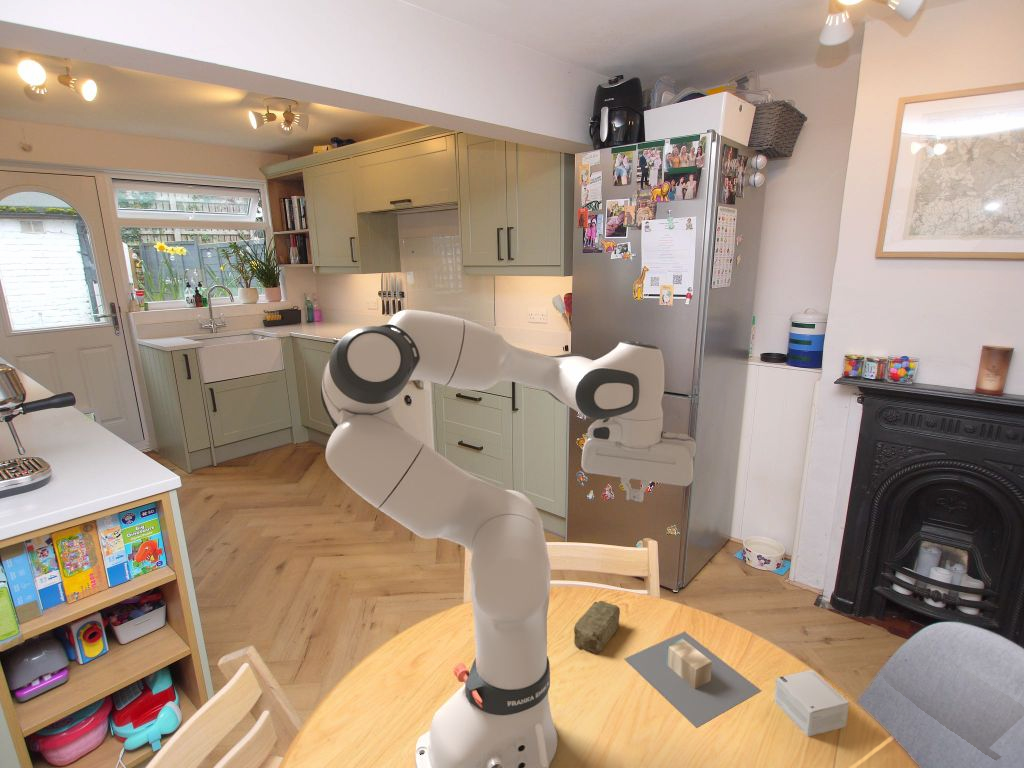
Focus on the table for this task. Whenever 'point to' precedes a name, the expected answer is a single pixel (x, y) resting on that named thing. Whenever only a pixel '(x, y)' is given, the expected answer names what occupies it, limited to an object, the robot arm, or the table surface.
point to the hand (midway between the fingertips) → (634, 499)
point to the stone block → (596, 626)
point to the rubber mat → (690, 702)
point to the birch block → (688, 663)
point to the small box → (811, 702)
